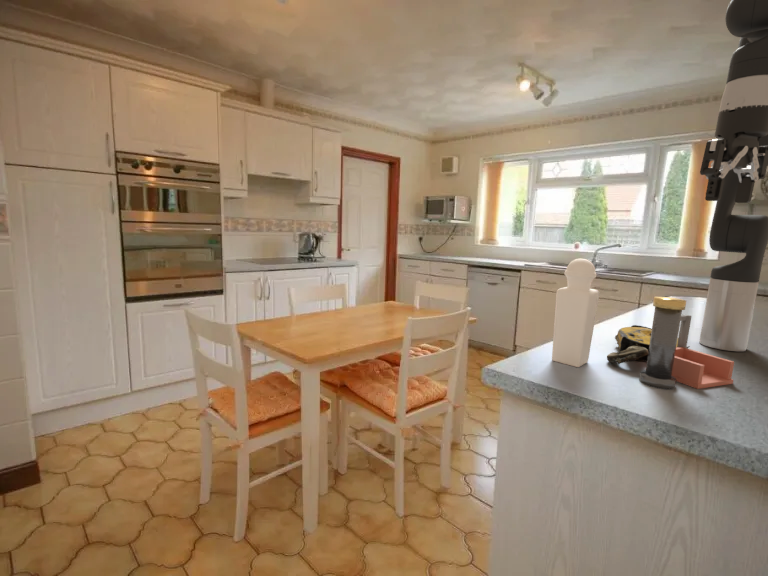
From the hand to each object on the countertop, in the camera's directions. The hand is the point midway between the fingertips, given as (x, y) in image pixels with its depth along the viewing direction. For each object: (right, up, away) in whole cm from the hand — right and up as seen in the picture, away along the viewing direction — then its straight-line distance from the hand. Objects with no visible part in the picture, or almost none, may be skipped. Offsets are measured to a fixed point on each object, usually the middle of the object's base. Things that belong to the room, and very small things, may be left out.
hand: (727, 201), depth 74 cm
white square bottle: (-24, -32, +11) cm, 42 cm away
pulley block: (-5, -32, +17) cm, 37 cm away
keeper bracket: (-4, -34, +5) cm, 34 cm away
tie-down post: (-13, -34, 0) cm, 36 cm away
